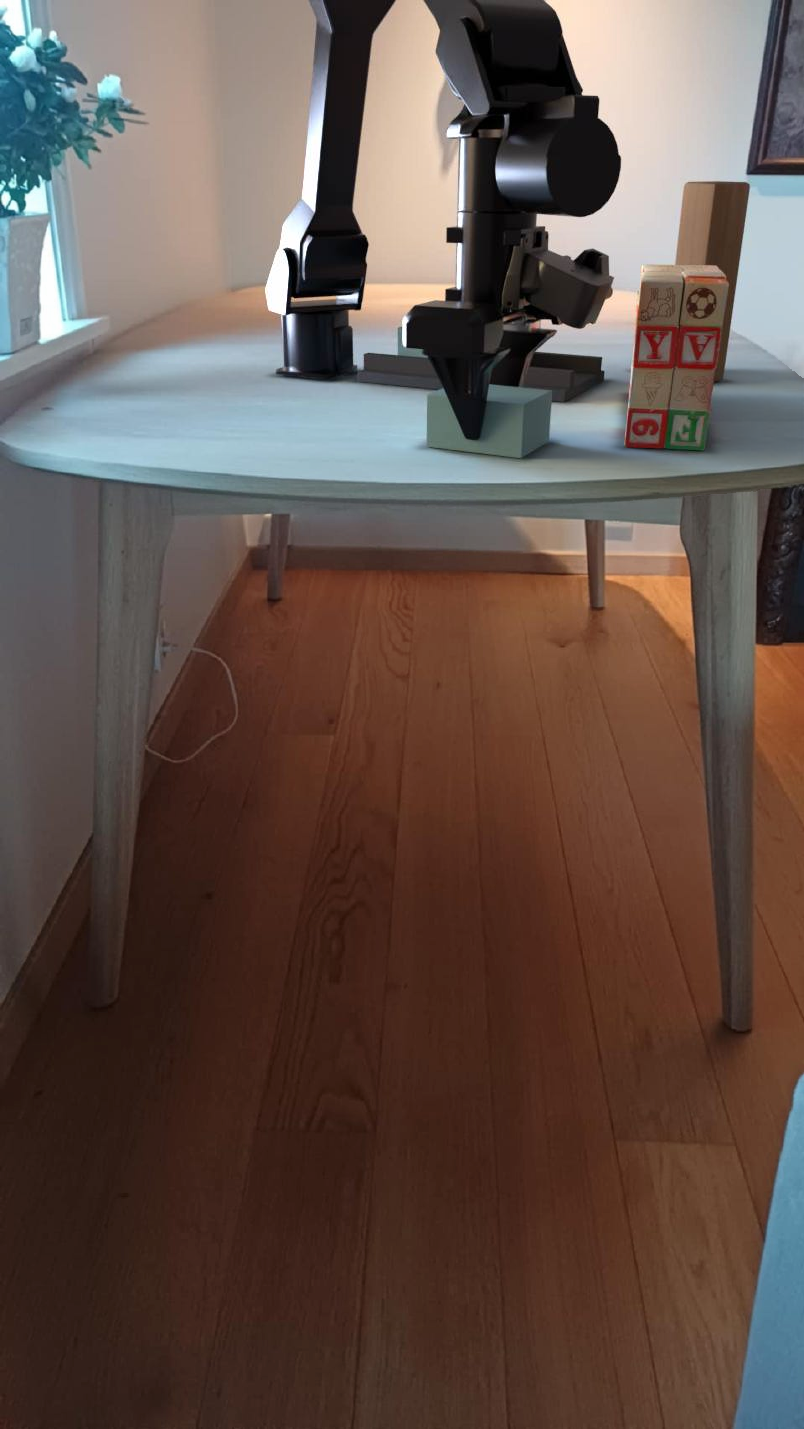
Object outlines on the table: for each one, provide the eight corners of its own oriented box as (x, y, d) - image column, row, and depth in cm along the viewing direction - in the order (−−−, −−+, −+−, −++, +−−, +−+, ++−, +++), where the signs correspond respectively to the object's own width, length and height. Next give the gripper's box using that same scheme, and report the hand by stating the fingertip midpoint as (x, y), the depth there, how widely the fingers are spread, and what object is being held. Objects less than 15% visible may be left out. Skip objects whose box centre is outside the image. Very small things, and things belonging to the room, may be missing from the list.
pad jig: (357, 381, 106) (356, 329, 104) (411, 363, 115) (411, 315, 113) (564, 402, 97) (568, 345, 95) (604, 380, 106) (608, 328, 104)
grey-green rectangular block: (426, 446, 82) (426, 394, 80) (457, 431, 87) (459, 381, 85) (521, 458, 79) (524, 404, 77) (549, 441, 84) (552, 390, 82)
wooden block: (633, 370, 111) (652, 180, 103) (666, 367, 113) (688, 180, 105) (689, 385, 104) (715, 182, 96) (724, 381, 106) (752, 182, 98)
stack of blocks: (627, 393, 100) (641, 254, 95) (694, 396, 99) (713, 255, 94) (623, 447, 82) (640, 277, 76) (706, 451, 81) (730, 279, 75)
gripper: (559, 220, 64) (543, 471, 72) (643, 208, 79) (623, 418, 86) (398, 216, 69) (399, 453, 76) (506, 206, 84) (498, 405, 91)
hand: (488, 431), depth 82 cm, fingers closed on grey-green rectangular block, 6 cm apart
